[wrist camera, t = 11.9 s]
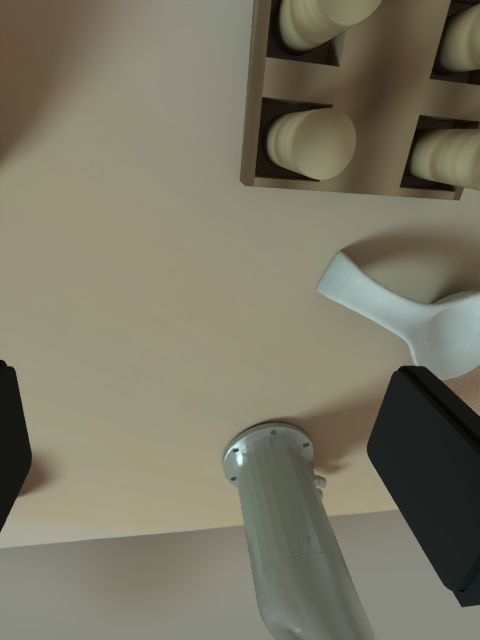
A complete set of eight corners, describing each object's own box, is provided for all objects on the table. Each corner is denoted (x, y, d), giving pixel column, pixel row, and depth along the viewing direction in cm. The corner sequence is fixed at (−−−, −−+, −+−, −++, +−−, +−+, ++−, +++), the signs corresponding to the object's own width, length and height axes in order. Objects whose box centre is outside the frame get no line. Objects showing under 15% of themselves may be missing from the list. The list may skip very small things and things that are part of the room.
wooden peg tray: (502, -2, 28) (647, -61, 20) (438, 195, 35) (524, 217, 26) (257, -48, 25) (300, -143, 16) (239, 181, 32) (262, 200, 23)
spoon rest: (507, 298, 43) (563, 327, 37) (445, 372, 47) (485, 409, 41) (353, 218, 35) (391, 238, 29) (296, 316, 40) (318, 351, 33)
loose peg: (315, 133, 31) (368, 135, 22) (287, 175, 32) (328, 192, 23) (279, 103, 29) (321, 92, 21) (252, 148, 31) (281, 155, 22)
